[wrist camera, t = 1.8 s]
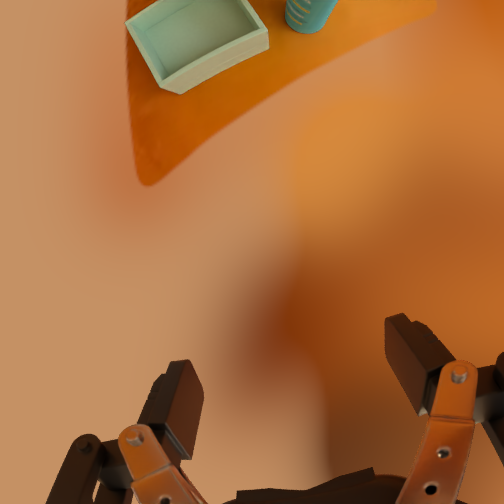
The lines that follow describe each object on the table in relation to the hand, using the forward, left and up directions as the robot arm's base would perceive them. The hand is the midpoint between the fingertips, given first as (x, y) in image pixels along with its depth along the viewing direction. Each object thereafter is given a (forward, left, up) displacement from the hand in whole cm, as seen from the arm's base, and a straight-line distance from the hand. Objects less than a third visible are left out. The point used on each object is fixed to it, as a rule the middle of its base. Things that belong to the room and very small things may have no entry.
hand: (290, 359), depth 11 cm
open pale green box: (-23, +1, -27) cm, 36 cm away
